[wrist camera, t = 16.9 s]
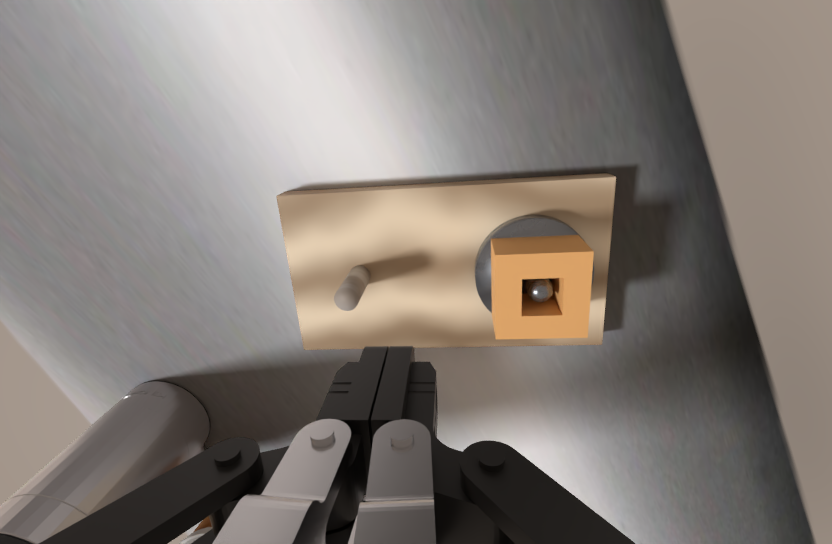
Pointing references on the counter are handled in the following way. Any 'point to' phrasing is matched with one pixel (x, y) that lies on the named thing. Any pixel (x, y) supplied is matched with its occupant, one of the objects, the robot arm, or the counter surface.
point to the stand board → (425, 257)
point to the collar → (541, 260)
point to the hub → (512, 229)
